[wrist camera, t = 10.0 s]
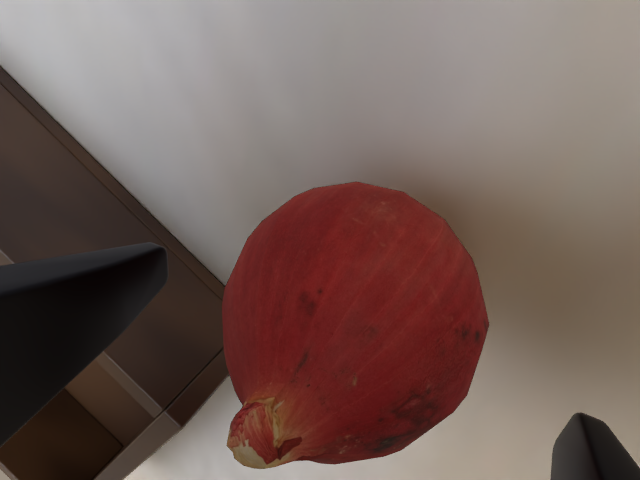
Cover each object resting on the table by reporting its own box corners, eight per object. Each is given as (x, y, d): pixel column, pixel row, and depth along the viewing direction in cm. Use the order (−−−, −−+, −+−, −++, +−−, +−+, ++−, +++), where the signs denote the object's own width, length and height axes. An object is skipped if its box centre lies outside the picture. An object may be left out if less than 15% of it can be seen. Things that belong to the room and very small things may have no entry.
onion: (543, 233, 11) (584, 546, 4) (417, 354, 14) (326, 638, 7) (362, 110, 11) (143, 209, 5) (281, 253, 14) (84, 431, 8)
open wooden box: (268, 329, 16) (182, 429, 12) (137, 451, 26) (62, 531, 22) (-26, 40, 16) (-213, 40, 12) (-50, 267, 26) (-160, 312, 22)
